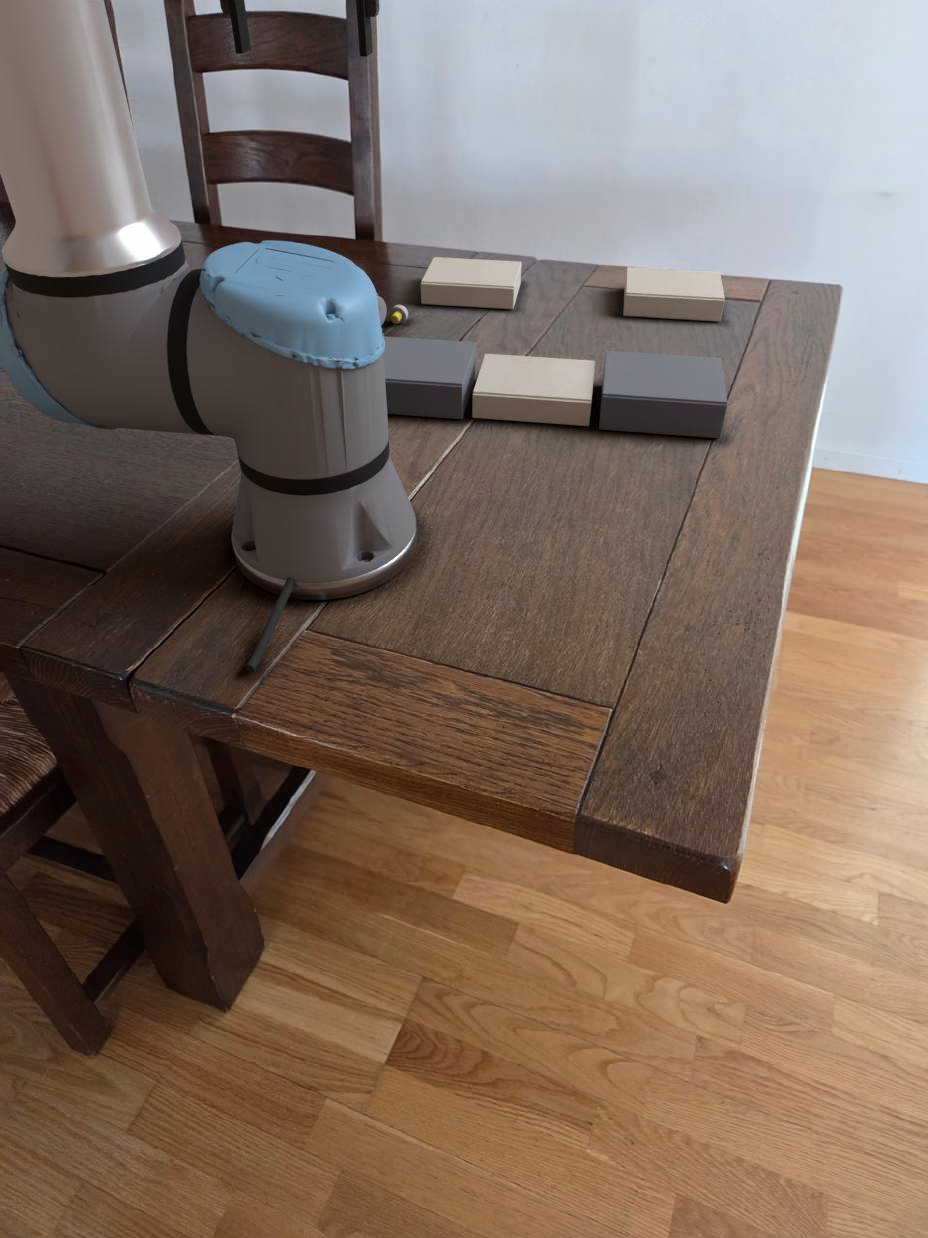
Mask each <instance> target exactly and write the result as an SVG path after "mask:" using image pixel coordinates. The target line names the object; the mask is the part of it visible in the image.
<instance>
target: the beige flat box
mask: <svg viewBox="0 0 928 1238" xmlns="http://www.w3.org/2000/svg"><path fill="white" fill-rule="evenodd" d="M595 369H596V360H589V359H573V358H560V357H544V356H529V355H528V356H527V355H513V354H497V353H484V356H483V359H482V362H481V365H480V368H479V372H478V375H477V377H476V380H475V383H474V386H473V389H472V410H471V411H472V415H471V416H472V418H474V419H485V420H497V421H498V420H499V421H500V420H501V421H514V422H526V423H538V424H539V423H540V424H553V425H567V426H568V425H569V426H578V427H579V426H581V427H589V426H590V421H591V413H592V412H591V411H592V402H593V391H594V381H595V380H594V379H595Z"/></svg>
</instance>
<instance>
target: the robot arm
mask: <svg viewBox="0 0 928 1238" xmlns="http://www.w3.org/2000/svg"><path fill="white" fill-rule="evenodd" d="M219 5H220V9H221V13H222V15H229V16H230V23H231V29H232V36H233V44H234V49H235V54H237V55H238V54H240V55H244V54H245V53H247V52H249V51H251V50H252V47H251V46H252V45H251V38H250V30H249V25H248V24H249V23H248V18H247V11H246V10H247V9H246V3H245V0H219ZM355 6H356V7H355V8H356V19H357V20H356V23H357V35H358V36H357V37H358V49H359V51H358V52H359V57H363V58H364V57H368V56H370V55H371V54H373V53H374V51H373V36H372V35H373V33H372V32H373V31H372V18H376V17H377V16H379V13H380V0H355ZM110 26H111V25H110V22H109V17H108V13H107V9H106V3H105V0H0V177H1V180H2V183H3V186H4V189H5V192H6V195H7V198H8V201H9V204H10V207H11V210H12V213H13V216H14V219H15V224H14V225H15V226H14V228H13V229H12V231H11V233H10V235H9V236H8V237H7V239H6V241H5V242H4V244H3V246H2V248H1V255H2V260H3V263H4V266H5V267H4V268H2V270H1V271H0V366H1V368H2V370H3V372H4V373H5V375H6V376H7V379H8V380H9V382H10V383H11V384H12V386H13V387H14V389H15V390H16V391H17V393H18V394H19V395H20V396H21V397H22V398H23V399H24V400H25V401H26V402H27V403H28V404H29V405H30V406H31V407H33V408H34V409H35V410H37V411H38V412H40V413H41V414H43V415H44V416H47V417H50V418H52V419H54V420H56V421H60V422H65V423H71V424H78V425H84V426H88V427H92V428H94V429H96V430H107V431H108V430H118V429H126V430H127V429H128V430H136V431H137V430H138V431H151V432H152V431H153V432H163V433H176V434H189V435H200V436H215V437H224V438H225V437H226V438H231V439H233V440H234V444H235V449H236V452H237V458H238V463H239V467H240V479H239V480H240V482H239V487H238V492H237V500H236V505H235V510H234V516H233V522H232V528H231V529H232V530H231V544H232V549H233V552H234V557H235V561H236V564H237V567H238V568H239V571H241V574H242V575H243V576H244V577H245V578H246V579H247V580H249V581H250V582H251V583H252V584H253V585H255V586H257V587H258V588H260V589H262V590H264V591H266V592H269V593H271V594H273V595H277V596H278V597H277V599H276V601H275V603H274V606H273V608H272V610H271V612H270V614H269V616H268V619H267V621H266V623H265V626H264V628H263V630H262V632H261V634H260V636H259V639H258V641H257V643H256V645H255V647H254V649H253V652H252V654H251V656H250V658H249V660H248V662H247V663H246V665H245V666H244V669H245V670H246V671H247V672H248V673H254V672H255V670H256V668H257V667H258V666H259V664H260V661H261V660H262V658H263V656H264V654H265V652H266V649H267V647H268V645H269V643H270V640H271V638H272V636H273V634H274V631H275V629H276V626H277V624H278V622H279V620H280V617H281V615H282V613H283V611H284V609H285V606H286V604H287V602H288V600H289V598H290V599H296V600H304V601H305V600H306V601H323V600H324V601H325V600H334V599H343V598H347V597H352V596H356V595H359V594H361V593H362V594H363V593H365V592H368V591H370V590H373V589H375V588H377V587H379V586H382V585H383V584H385V583H387V582H388V581H390V580H391V579H393V578H394V577H396V576H397V575H398V574H399V573H401V572H402V571H403V570H404V569H405V568H406V567H407V565H409V563H410V562H411V560H412V558H413V556H414V554H415V553H416V550H417V546H418V531H417V530H418V529H417V528H418V525H417V515H416V513H415V510H414V508H413V505H412V502H411V501H410V499H409V496H408V494H407V491H406V490H405V487H404V486H403V483H402V481H401V479H400V477H399V474H398V471H397V470H396V467H395V465H394V463H393V461H392V459H391V450H390V439H389V436H390V434H389V418H388V414H387V401H386V385H385V369H384V350H385V340H384V336H385V332H383V327H382V326H381V324H380V316H379V308H378V299H377V295H378V293H377V290H376V287H375V285H374V283H373V281H372V280H371V278H370V277H369V276H368V275H367V273H366V272H365V271H364V270H363V269H362V268H360V267H359V266H357V265H356V264H355V263H354V262H353V261H352V260H350V259H349V258H347V257H346V256H344V255H341V254H339V253H337V252H334V251H331V250H329V249H326V248H323V247H319V246H315V245H312V244H306V243H300V242H296V241H295V242H294V241H285V240H262V241H261V242H260V243H254V242H250V241H243V242H237V243H234V244H229V245H226V246H223V247H221V248H218V249H216V250H214V251H213V252H211V253H210V254H209V255H208V256H207V257H206V258H205V260H204V262H203V263H202V267H191V266H189V264H188V260H187V256H186V253H185V248H184V244H183V239H182V234H181V232H180V229H179V227H178V226H177V225H176V224H174V223H173V222H172V221H170V220H169V219H168V218H166V217H165V216H164V215H163V214H161V213H160V212H158V211H157V210H156V209H154V207H153V206H152V204H151V199H150V193H149V190H148V187H147V181H146V178H145V173H144V169H143V164H142V160H141V156H140V151H139V146H138V143H137V139H136V135H135V130H134V125H133V120H132V118H131V113H130V108H129V104H128V100H127V95H126V91H125V86H124V83H123V77H122V73H121V70H120V64H119V60H118V57H117V52H116V47H115V43H114V38H113V35H112V30H111V27H110ZM376 293H377V294H376Z"/></svg>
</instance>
